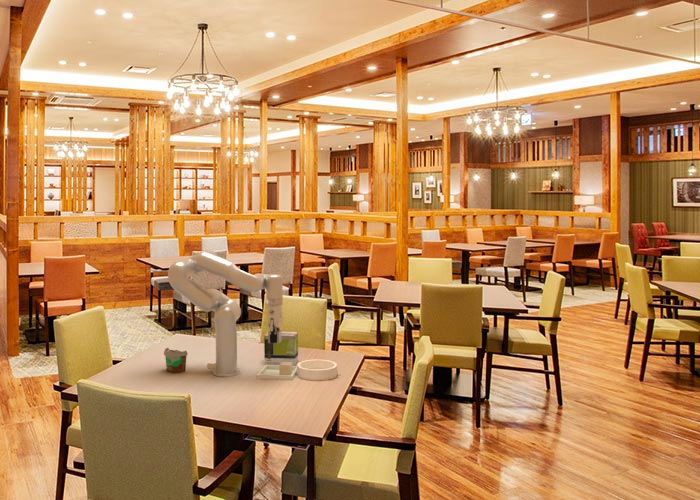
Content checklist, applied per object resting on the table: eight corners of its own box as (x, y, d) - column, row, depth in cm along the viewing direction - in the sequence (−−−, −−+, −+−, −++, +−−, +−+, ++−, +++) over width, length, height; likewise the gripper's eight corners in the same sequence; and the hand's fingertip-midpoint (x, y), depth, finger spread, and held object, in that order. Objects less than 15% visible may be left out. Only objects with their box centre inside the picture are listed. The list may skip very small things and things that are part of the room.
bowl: (293, 380, 271) (293, 369, 270) (301, 368, 288) (301, 358, 288) (334, 381, 269) (334, 371, 268) (339, 370, 287) (339, 360, 286)
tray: (256, 379, 271) (256, 374, 271) (265, 369, 287) (265, 365, 287) (292, 380, 270) (292, 376, 270) (299, 370, 286) (299, 366, 285)
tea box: (298, 360, 303) (298, 331, 302) (294, 366, 293) (294, 336, 292) (268, 359, 304) (268, 330, 303) (263, 365, 294) (263, 334, 293)
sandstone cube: (279, 375, 276) (279, 364, 275) (281, 372, 281) (281, 362, 280) (290, 376, 275) (290, 365, 275) (292, 373, 280) (292, 362, 280)
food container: (158, 371, 282) (157, 350, 281) (167, 368, 287) (167, 347, 286) (178, 375, 276) (178, 353, 275) (187, 372, 281) (187, 350, 280)
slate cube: (268, 343, 275) (268, 332, 275) (270, 340, 280) (270, 329, 280) (279, 343, 275) (279, 332, 274) (281, 340, 280) (281, 330, 279)
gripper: (278, 305, 267) (278, 346, 269) (286, 298, 284) (287, 337, 285) (261, 304, 268) (262, 345, 269) (270, 298, 285) (271, 337, 286)
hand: (274, 340), depth 277 cm, fingers closed on slate cube, 5 cm apart
